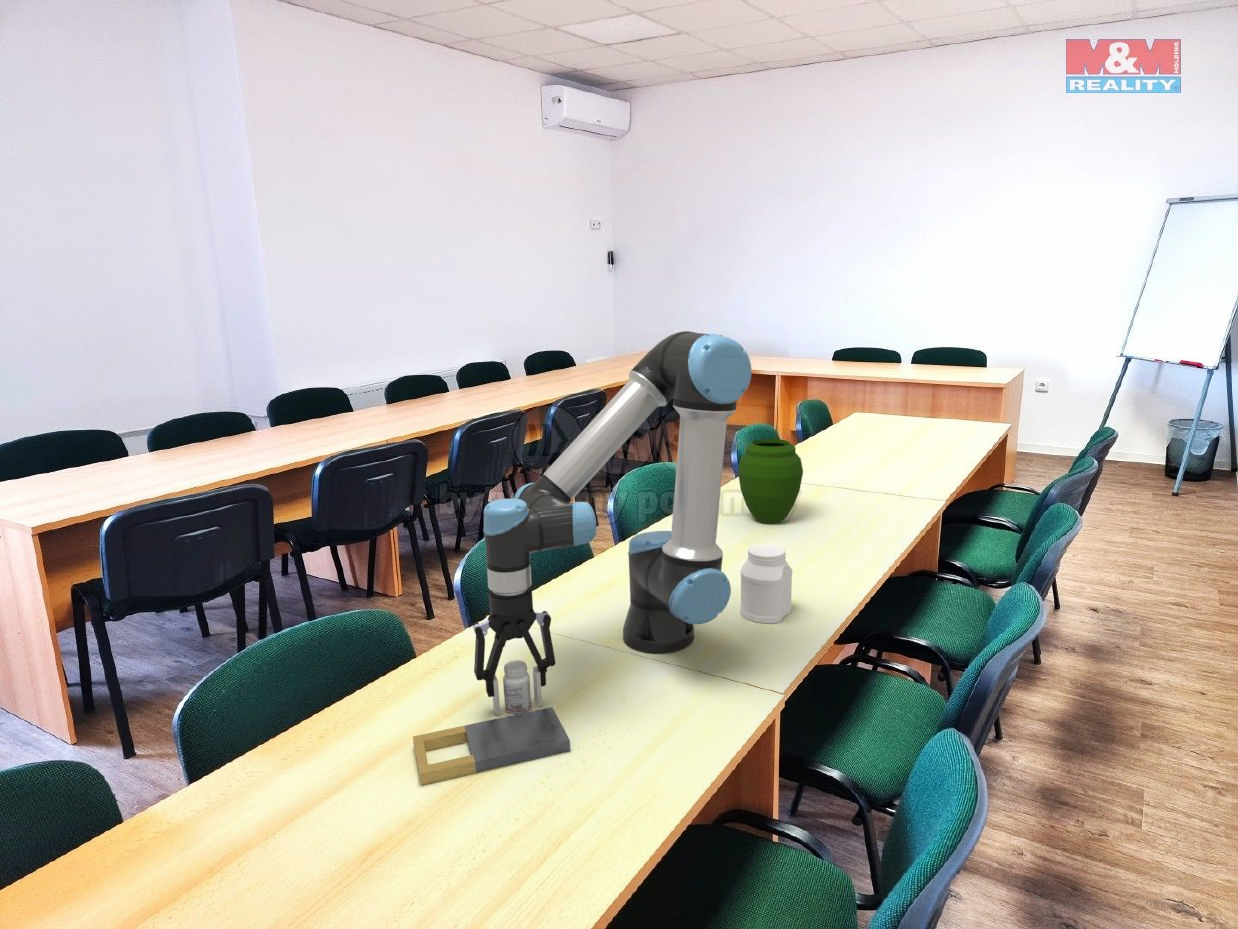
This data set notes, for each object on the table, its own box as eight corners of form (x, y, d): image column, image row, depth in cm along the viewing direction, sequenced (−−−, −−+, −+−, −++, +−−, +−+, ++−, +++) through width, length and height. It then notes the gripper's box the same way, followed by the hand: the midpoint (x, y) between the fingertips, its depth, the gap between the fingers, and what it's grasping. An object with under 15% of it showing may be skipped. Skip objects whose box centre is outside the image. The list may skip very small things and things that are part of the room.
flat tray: (552, 717, 141) (552, 706, 140) (570, 751, 131) (569, 740, 130) (413, 747, 133) (412, 736, 132) (420, 785, 123) (419, 774, 122)
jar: (774, 627, 173) (775, 562, 169) (734, 617, 178) (735, 554, 175) (795, 608, 182) (797, 546, 178) (757, 599, 187) (758, 539, 184)
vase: (765, 506, 259) (766, 433, 253) (815, 519, 244) (817, 442, 238) (724, 519, 247) (724, 443, 241) (773, 534, 232) (775, 453, 226)
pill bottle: (518, 698, 147) (515, 656, 145) (537, 706, 144) (534, 663, 142) (499, 709, 144) (496, 666, 142) (517, 717, 141) (514, 674, 139)
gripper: (559, 572, 145) (564, 686, 151) (449, 589, 139) (459, 707, 144) (571, 586, 138) (576, 705, 144) (455, 605, 132) (465, 729, 137)
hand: (517, 706), depth 144 cm, fingers open, 7 cm apart
